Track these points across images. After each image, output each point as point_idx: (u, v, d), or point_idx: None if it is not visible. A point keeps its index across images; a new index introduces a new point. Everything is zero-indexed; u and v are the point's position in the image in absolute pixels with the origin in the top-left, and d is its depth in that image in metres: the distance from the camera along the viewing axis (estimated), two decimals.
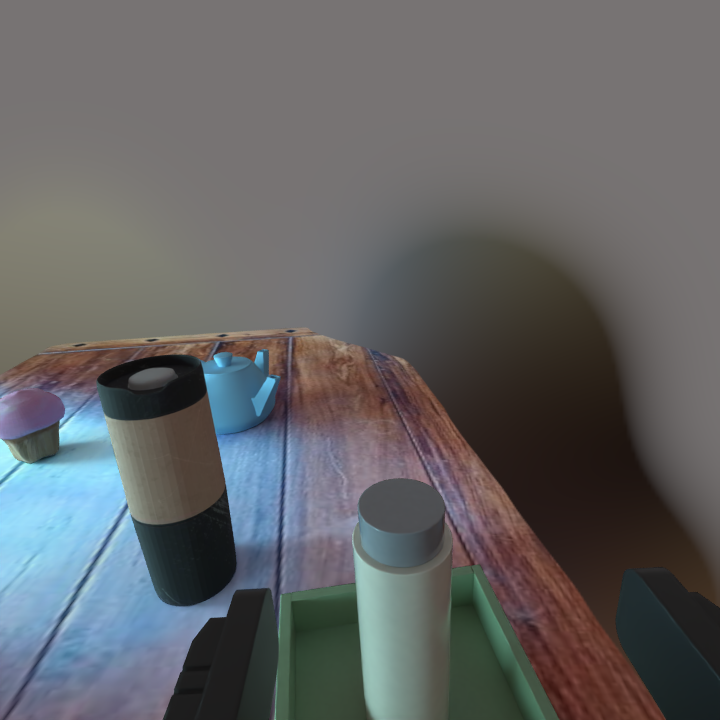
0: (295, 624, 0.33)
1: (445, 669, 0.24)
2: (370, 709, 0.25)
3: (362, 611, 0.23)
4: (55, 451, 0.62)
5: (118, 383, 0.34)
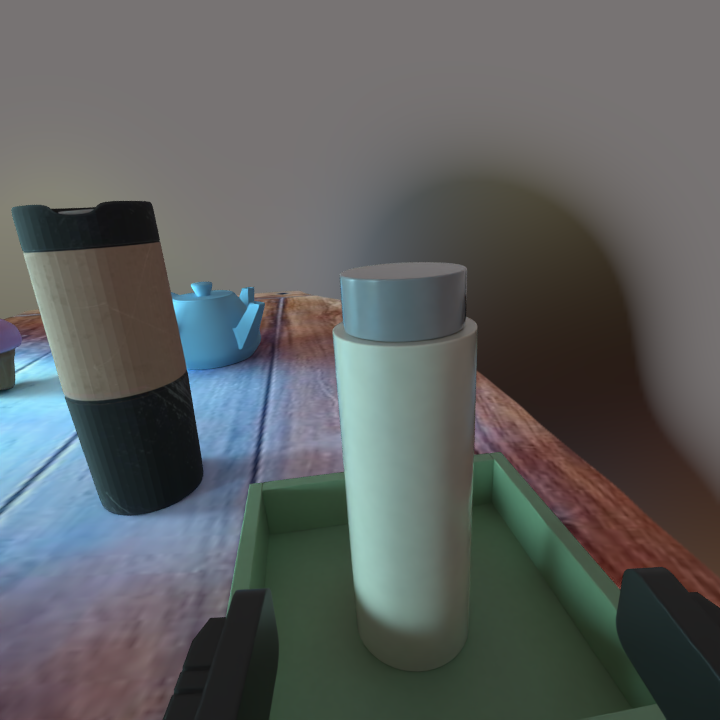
0: (268, 523, 0.26)
1: (466, 527, 0.17)
2: (361, 594, 0.18)
3: (348, 435, 0.16)
4: (10, 385, 0.54)
5: None
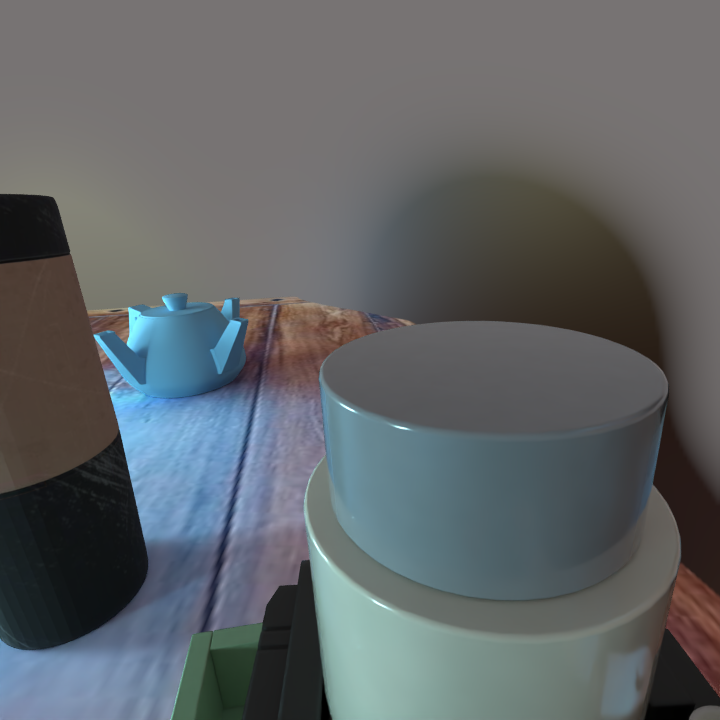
0: (221, 693, 0.17)
1: None
2: None
3: None
4: None
5: None
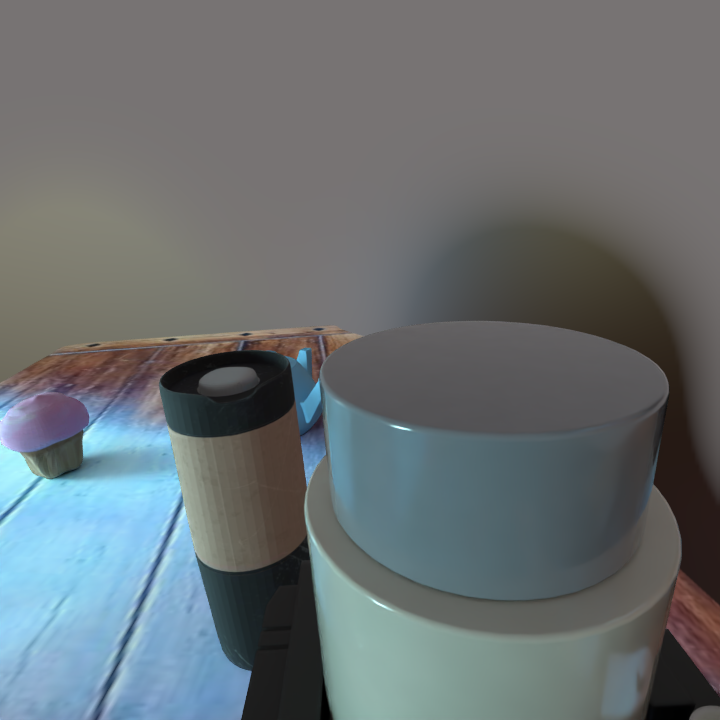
0: None
1: None
2: None
3: None
4: (78, 464, 0.54)
5: (184, 387, 0.26)
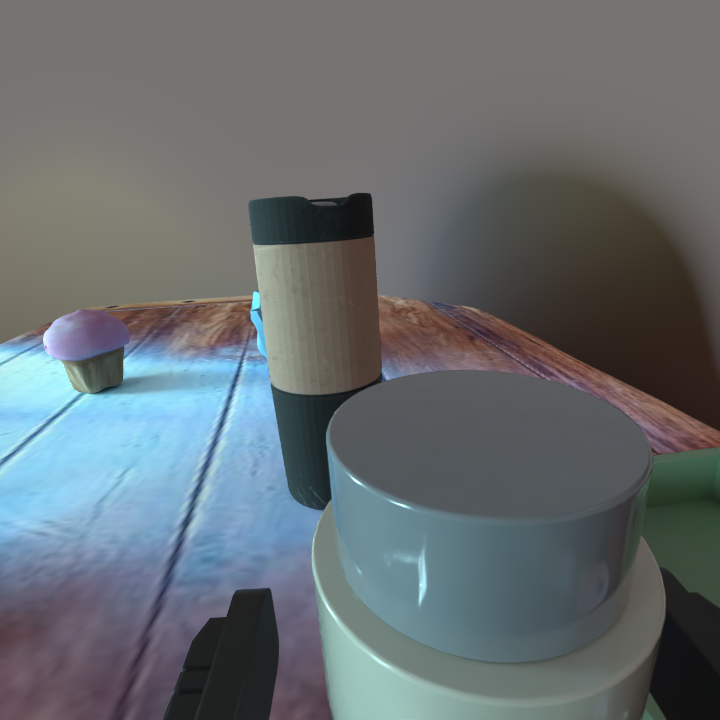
0: None
1: None
2: None
3: None
4: (119, 381, 0.54)
5: None
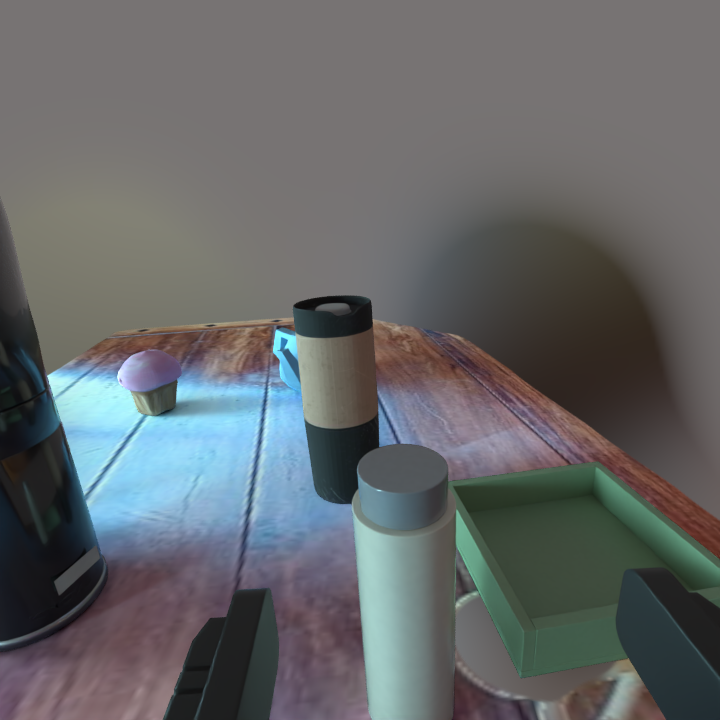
0: None
1: (450, 643, 0.23)
2: (372, 687, 0.24)
3: (362, 580, 0.22)
4: (173, 406, 0.69)
5: None
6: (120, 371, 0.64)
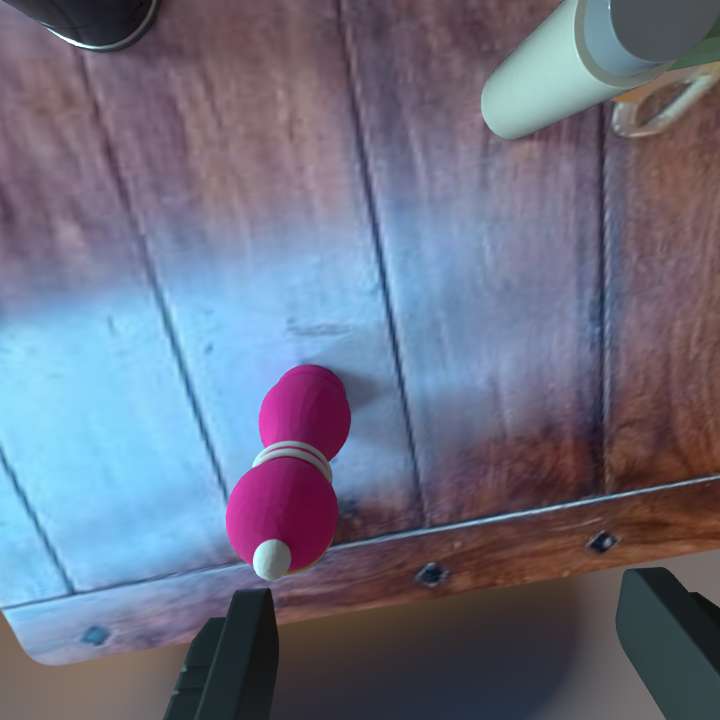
0: None
1: None
2: (498, 113, 0.29)
3: (542, 80, 0.22)
4: None
5: None
6: None
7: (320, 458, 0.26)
